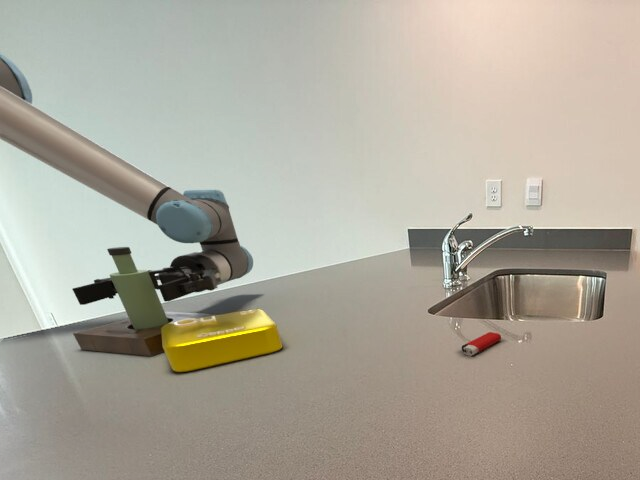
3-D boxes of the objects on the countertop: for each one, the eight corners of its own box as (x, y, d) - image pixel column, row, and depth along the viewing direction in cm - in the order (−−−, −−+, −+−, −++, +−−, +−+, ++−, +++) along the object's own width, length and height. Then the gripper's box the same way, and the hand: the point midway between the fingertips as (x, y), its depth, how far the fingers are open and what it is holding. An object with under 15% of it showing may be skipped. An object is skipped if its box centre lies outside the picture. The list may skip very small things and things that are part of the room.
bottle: (133, 342, 73) (89, 250, 66) (160, 333, 77) (123, 245, 70) (154, 344, 72) (112, 250, 65) (181, 335, 76) (145, 246, 69)
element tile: (173, 375, 59) (160, 344, 57) (170, 348, 70) (158, 321, 68) (285, 350, 67) (277, 322, 65) (267, 329, 78) (260, 304, 76)
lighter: (501, 334, 68) (472, 349, 62) (501, 341, 69) (473, 356, 63) (487, 331, 70) (458, 346, 64) (487, 338, 70) (458, 353, 64)
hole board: (81, 349, 70) (72, 333, 69) (161, 325, 82) (155, 310, 81) (151, 356, 67) (143, 339, 65) (225, 329, 79) (219, 314, 77)
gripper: (265, 286, 89) (206, 313, 70) (147, 291, 88) (54, 320, 69) (255, 250, 86) (190, 269, 67) (132, 254, 84) (30, 275, 65)
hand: (120, 295), depth 68 cm, fingers open, 13 cm apart
